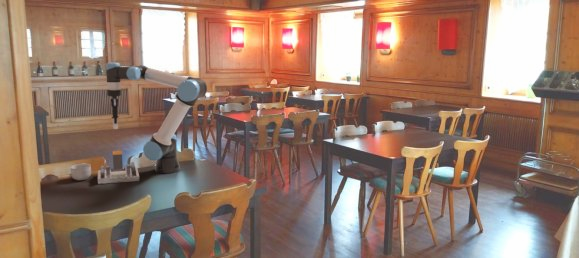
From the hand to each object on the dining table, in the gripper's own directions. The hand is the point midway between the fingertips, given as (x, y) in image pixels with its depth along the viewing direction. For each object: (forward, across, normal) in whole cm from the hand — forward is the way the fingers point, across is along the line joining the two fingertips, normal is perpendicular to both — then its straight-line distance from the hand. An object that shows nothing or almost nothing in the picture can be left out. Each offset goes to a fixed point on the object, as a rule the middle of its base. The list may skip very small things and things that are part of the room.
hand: (115, 128), depth 278 cm
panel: (+27, +12, 0) cm, 30 cm away
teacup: (+27, +6, -20) cm, 34 cm away
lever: (+22, +12, 0) cm, 25 cm away
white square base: (+24, +12, 0) cm, 27 cm away
